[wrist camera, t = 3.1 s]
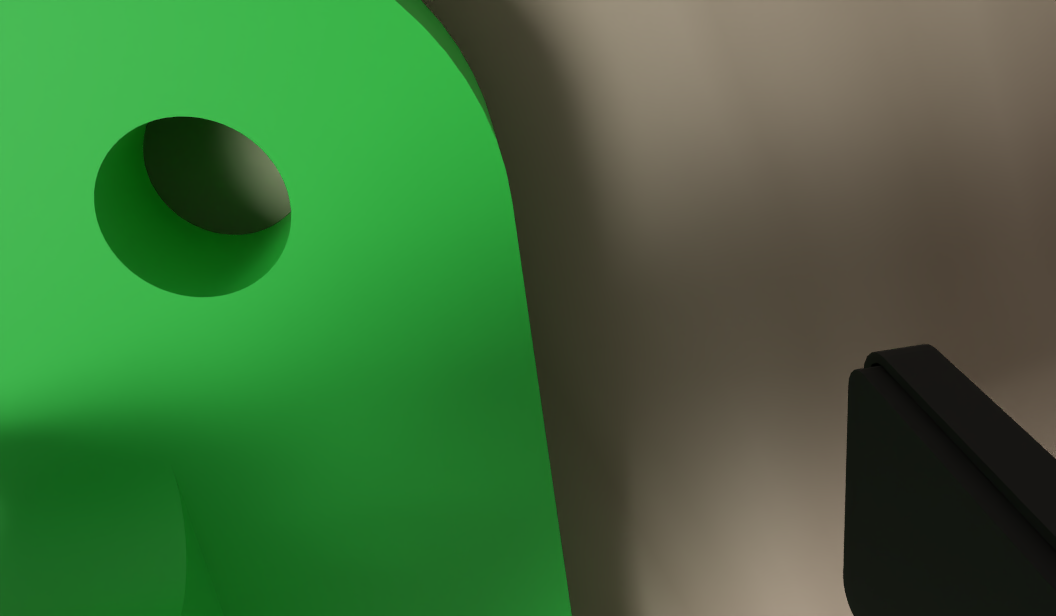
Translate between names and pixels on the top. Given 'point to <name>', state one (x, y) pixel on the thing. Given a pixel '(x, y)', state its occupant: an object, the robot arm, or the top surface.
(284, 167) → the mechanical part
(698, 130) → the top surface
